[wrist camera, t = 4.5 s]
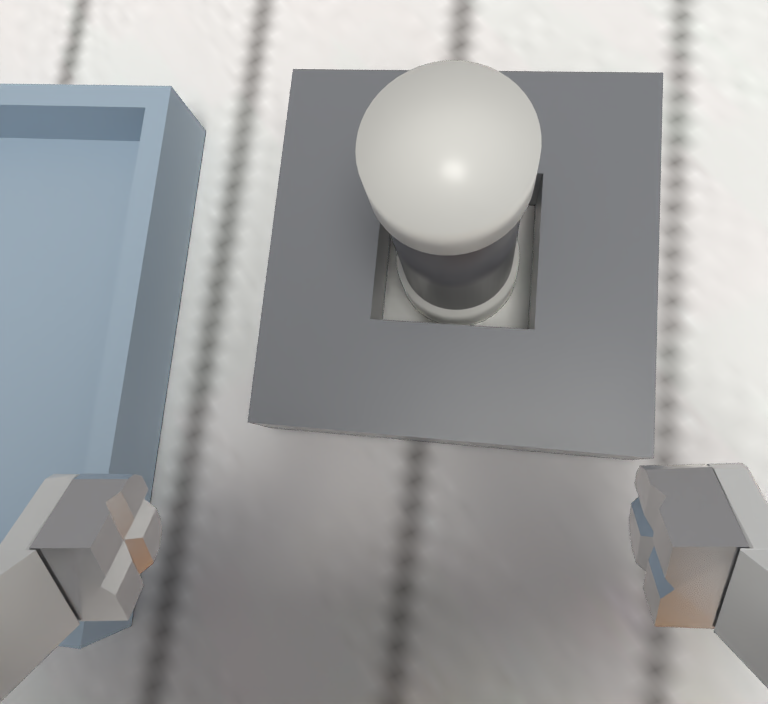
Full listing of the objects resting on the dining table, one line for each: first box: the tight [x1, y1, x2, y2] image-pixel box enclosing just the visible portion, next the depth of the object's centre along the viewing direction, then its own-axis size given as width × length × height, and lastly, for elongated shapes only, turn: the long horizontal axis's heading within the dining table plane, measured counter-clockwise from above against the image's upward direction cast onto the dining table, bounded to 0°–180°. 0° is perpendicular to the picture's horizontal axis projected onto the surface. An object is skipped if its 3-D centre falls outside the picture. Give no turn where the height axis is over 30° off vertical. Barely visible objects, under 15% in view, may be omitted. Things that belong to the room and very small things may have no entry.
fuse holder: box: [248, 69, 663, 460], centre depth 22 cm, size 12×12×2 cm
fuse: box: [355, 60, 542, 325], centre depth 19 cm, size 4×4×9 cm
